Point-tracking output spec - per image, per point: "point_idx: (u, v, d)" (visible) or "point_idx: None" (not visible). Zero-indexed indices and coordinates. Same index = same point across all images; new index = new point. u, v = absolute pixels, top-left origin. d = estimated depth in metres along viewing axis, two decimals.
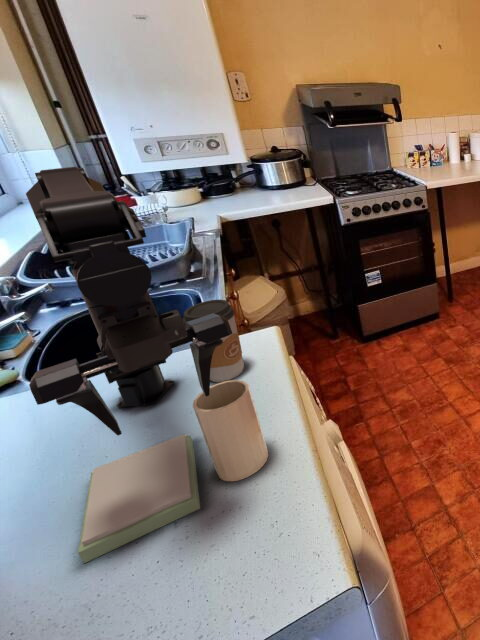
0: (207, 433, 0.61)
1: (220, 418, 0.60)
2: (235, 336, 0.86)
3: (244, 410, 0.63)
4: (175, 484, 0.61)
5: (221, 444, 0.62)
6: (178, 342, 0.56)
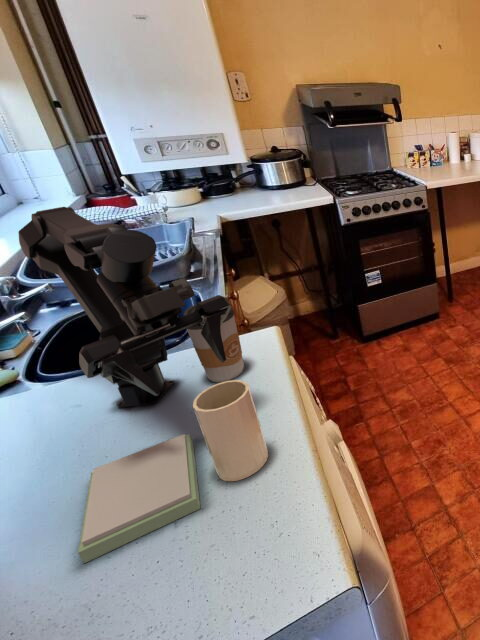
0: (207, 433, 0.61)
1: (220, 418, 0.60)
2: (235, 336, 0.86)
3: (244, 410, 0.63)
4: (175, 484, 0.61)
5: (221, 444, 0.62)
6: (190, 321, 0.69)
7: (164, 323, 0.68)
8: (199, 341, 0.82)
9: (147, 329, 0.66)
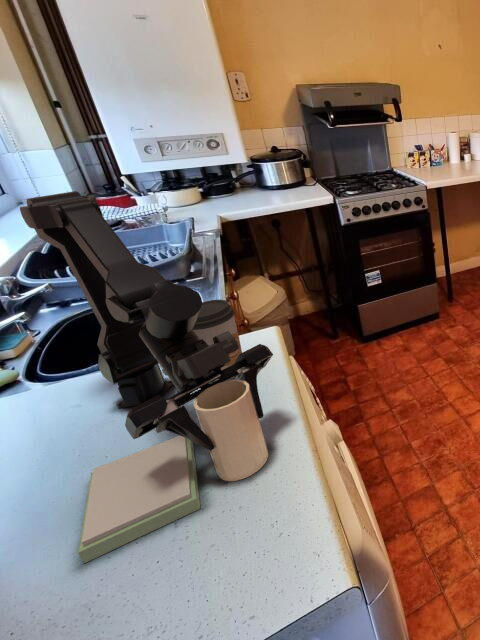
0: (207, 433, 0.61)
1: (220, 418, 0.60)
2: (235, 336, 0.86)
3: (245, 409, 0.63)
4: (175, 484, 0.61)
5: (221, 444, 0.62)
6: (232, 373, 0.68)
7: (207, 376, 0.66)
8: None
9: (191, 384, 0.64)
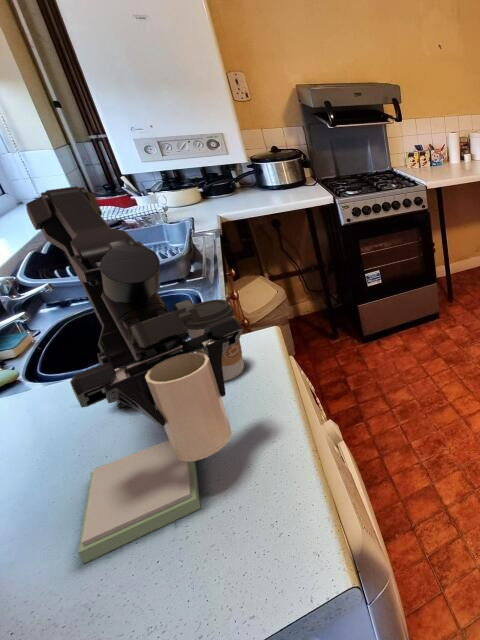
0: (159, 407, 0.56)
1: (171, 392, 0.55)
2: None
3: (200, 385, 0.57)
4: (175, 484, 0.61)
5: (173, 420, 0.57)
6: (197, 345, 0.63)
7: (169, 347, 0.62)
8: None
9: (150, 354, 0.60)
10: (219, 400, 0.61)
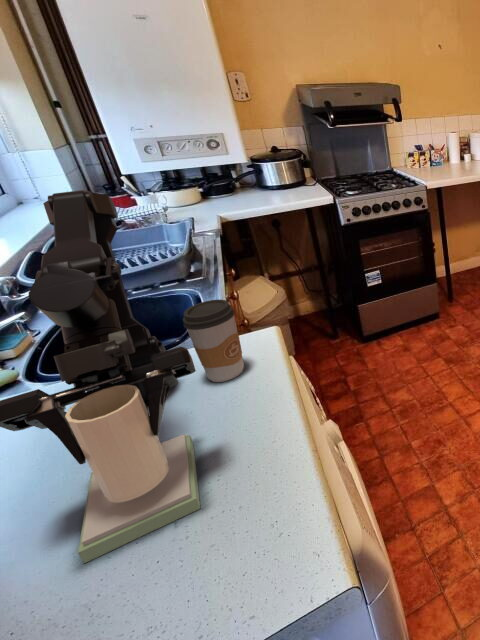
0: None
1: (84, 432, 0.51)
2: (235, 336, 0.86)
3: (119, 427, 0.53)
4: (175, 484, 0.61)
5: (91, 460, 0.53)
6: (141, 375, 0.59)
7: (115, 374, 0.59)
8: (199, 341, 0.82)
9: (91, 380, 0.57)
10: (148, 440, 0.56)
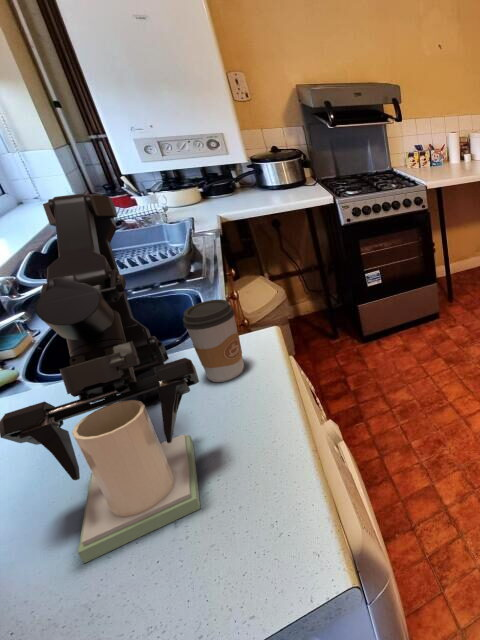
0: (85, 459, 0.54)
1: (91, 448, 0.52)
2: (235, 336, 0.86)
3: (125, 442, 0.54)
4: (175, 484, 0.61)
5: (97, 475, 0.54)
6: (146, 387, 0.60)
7: (119, 385, 0.59)
8: (199, 341, 0.82)
9: (96, 392, 0.58)
10: (154, 455, 0.57)
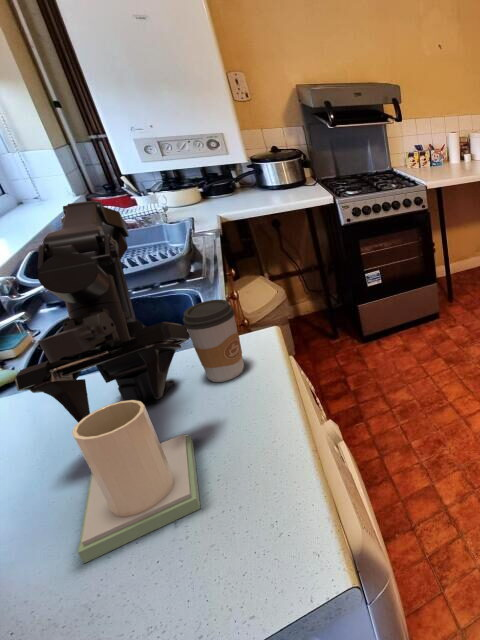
0: (85, 459, 0.54)
1: (91, 448, 0.52)
2: (235, 336, 0.86)
3: (125, 442, 0.54)
4: (175, 484, 0.61)
5: (97, 475, 0.54)
6: (135, 346, 0.64)
7: None
8: (199, 341, 0.82)
9: (96, 349, 0.64)
10: (154, 455, 0.57)
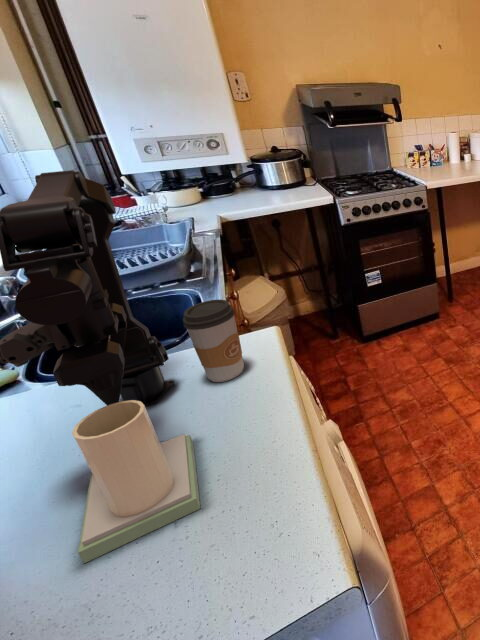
0: (85, 459, 0.54)
1: (91, 448, 0.52)
2: (235, 336, 0.86)
3: (125, 442, 0.54)
4: (175, 484, 0.61)
5: (97, 475, 0.54)
6: None
7: None
8: (199, 341, 0.82)
9: None
10: (154, 455, 0.57)
